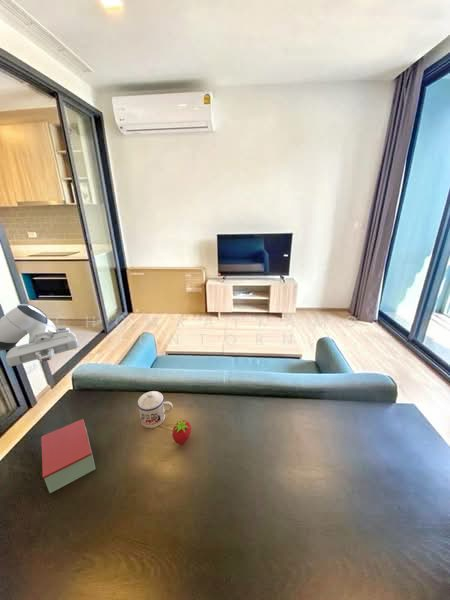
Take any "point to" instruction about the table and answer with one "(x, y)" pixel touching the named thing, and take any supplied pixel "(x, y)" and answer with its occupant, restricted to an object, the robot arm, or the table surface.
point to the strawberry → (181, 432)
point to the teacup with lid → (152, 409)
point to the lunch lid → (64, 447)
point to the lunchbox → (70, 473)
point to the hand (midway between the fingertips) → (45, 359)
